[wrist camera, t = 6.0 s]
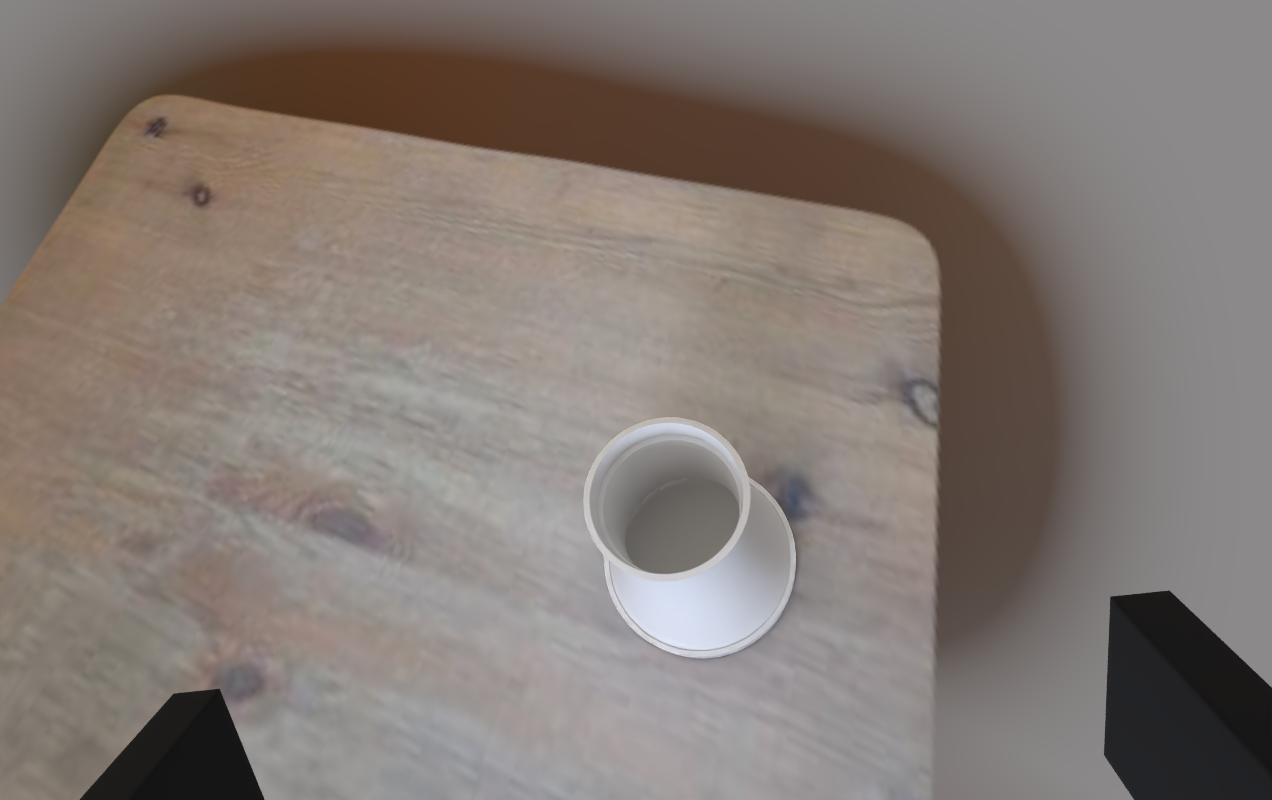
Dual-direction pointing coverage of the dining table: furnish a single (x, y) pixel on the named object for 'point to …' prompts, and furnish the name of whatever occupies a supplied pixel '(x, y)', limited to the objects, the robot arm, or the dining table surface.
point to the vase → (688, 538)
